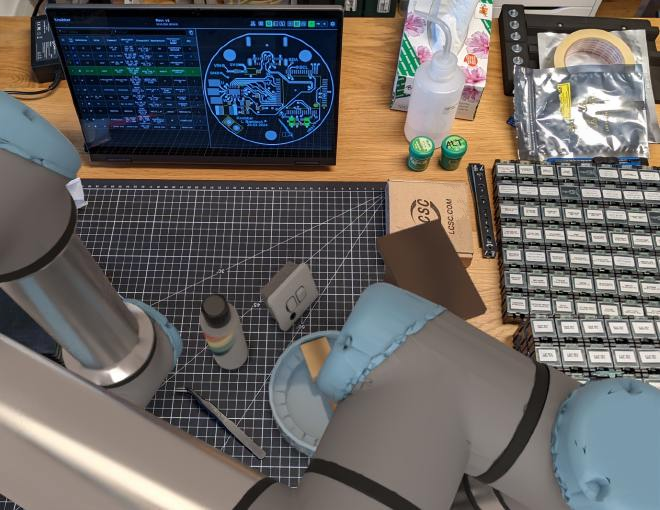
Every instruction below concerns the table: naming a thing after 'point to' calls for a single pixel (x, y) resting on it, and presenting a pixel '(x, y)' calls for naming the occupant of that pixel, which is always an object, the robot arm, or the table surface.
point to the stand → (430, 268)
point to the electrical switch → (289, 293)
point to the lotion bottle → (223, 331)
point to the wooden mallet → (316, 358)
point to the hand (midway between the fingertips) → (430, 493)
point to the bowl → (299, 397)
